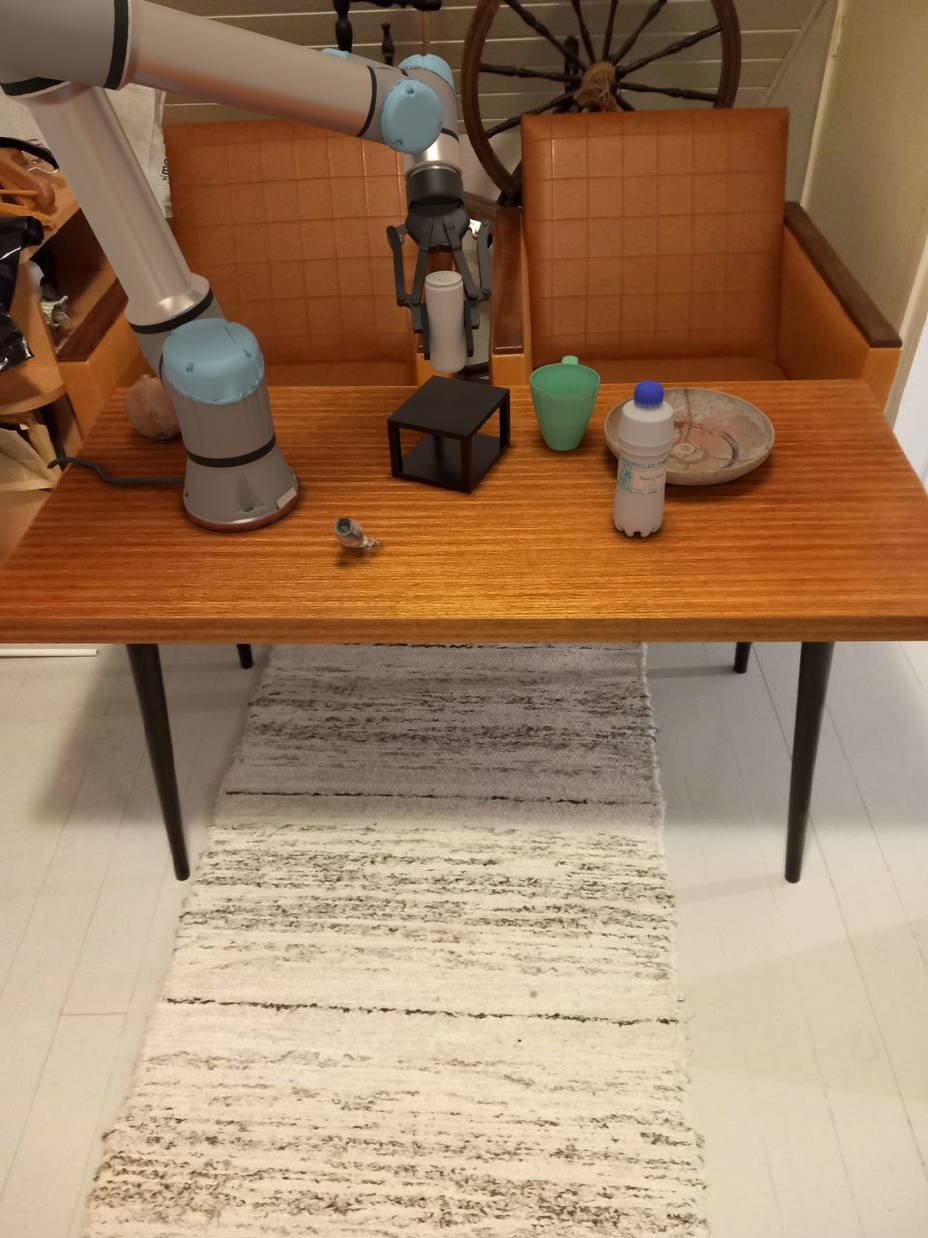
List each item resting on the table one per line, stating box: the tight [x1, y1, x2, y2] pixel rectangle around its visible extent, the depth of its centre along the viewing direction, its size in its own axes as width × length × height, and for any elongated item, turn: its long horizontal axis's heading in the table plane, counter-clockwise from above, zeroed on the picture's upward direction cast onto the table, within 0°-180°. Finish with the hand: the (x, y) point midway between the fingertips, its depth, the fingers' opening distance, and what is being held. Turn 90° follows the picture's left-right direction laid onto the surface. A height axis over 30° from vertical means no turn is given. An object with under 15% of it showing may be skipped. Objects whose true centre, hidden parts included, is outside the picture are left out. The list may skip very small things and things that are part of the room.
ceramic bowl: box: [602, 386, 776, 487], centre depth 137 cm, size 23×24×5 cm
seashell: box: [324, 517, 380, 551], centre depth 122 cm, size 5×5×6 cm
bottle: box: [612, 380, 674, 538], centre depth 120 cm, size 7×7×20 cm
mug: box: [529, 355, 601, 452], centre depth 142 cm, size 15×10×10 cm
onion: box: [124, 373, 181, 441], centre depth 146 cm, size 10×9×10 cm
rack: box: [386, 374, 511, 495], centre depth 137 cm, size 12×14×9 cm
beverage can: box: [424, 270, 466, 375], centre depth 127 cm, size 5×5×12 cm
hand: (448, 354), depth 126 cm, fingers closed on beverage can, 5 cm apart
